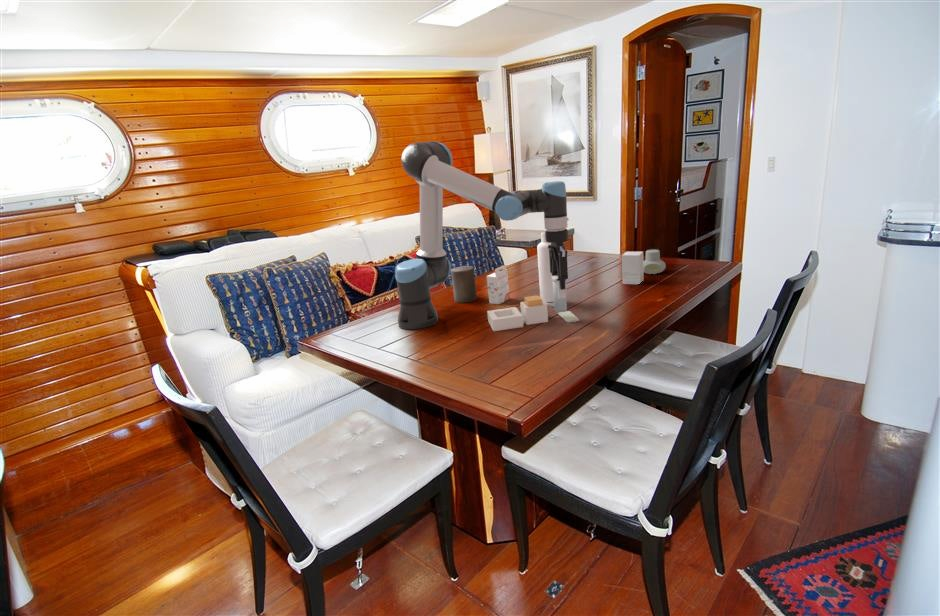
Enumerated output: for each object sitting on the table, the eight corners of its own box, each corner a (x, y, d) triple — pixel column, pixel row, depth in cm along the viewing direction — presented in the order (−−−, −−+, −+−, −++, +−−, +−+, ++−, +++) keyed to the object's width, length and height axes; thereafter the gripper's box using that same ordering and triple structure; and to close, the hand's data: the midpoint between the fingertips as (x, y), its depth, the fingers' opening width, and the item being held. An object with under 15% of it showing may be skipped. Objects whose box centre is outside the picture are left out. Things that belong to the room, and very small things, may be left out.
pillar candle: (480, 299, 202) (476, 265, 198) (458, 304, 199) (454, 269, 195) (471, 295, 211) (468, 261, 207) (451, 299, 208) (447, 265, 204)
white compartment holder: (493, 333, 163) (492, 314, 161) (488, 324, 173) (486, 305, 170) (549, 325, 165) (548, 306, 163) (541, 316, 175) (539, 298, 172)
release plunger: (529, 323, 166) (527, 301, 164) (525, 318, 171) (524, 297, 169) (543, 321, 167) (542, 299, 164) (539, 316, 172) (538, 295, 169)
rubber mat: (551, 325, 165) (551, 323, 165) (543, 316, 174) (543, 314, 174) (579, 321, 166) (579, 319, 166) (569, 312, 175) (569, 310, 175)
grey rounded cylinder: (556, 312, 167) (554, 279, 163) (552, 308, 171) (550, 276, 168) (569, 310, 167) (567, 277, 164) (565, 306, 172) (563, 274, 168)
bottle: (552, 308, 182) (548, 235, 174) (536, 304, 188) (531, 233, 180) (565, 302, 187) (562, 231, 178) (550, 299, 193) (546, 230, 184)
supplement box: (644, 280, 205) (644, 251, 201) (639, 285, 199) (639, 255, 195) (626, 279, 209) (626, 250, 205) (621, 284, 203) (621, 254, 199)
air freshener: (639, 275, 213) (639, 253, 210) (639, 270, 220) (639, 249, 217) (666, 274, 209) (666, 252, 206) (665, 270, 217) (665, 248, 214)
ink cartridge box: (500, 297, 203) (497, 263, 198) (510, 298, 200) (507, 264, 195) (488, 303, 196) (485, 268, 192) (498, 304, 193) (495, 269, 189)
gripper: (576, 231, 153) (579, 301, 160) (558, 224, 169) (562, 288, 176) (553, 234, 152) (557, 304, 159) (538, 227, 169) (542, 290, 176)
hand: (559, 295), depth 168 cm, fingers closed on grey rounded cylinder, 5 cm apart
